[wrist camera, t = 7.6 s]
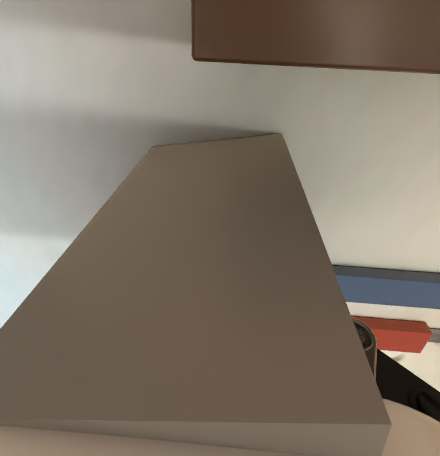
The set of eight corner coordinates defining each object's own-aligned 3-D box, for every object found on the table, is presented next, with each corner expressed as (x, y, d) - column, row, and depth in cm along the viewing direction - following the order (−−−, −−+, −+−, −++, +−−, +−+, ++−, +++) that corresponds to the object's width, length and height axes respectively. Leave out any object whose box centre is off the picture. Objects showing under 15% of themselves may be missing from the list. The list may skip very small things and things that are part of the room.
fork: (313, 310, 22) (315, 321, 21) (543, 329, 21) (555, 341, 20) (306, 334, 23) (308, 345, 22) (521, 352, 23) (532, 364, 22)
